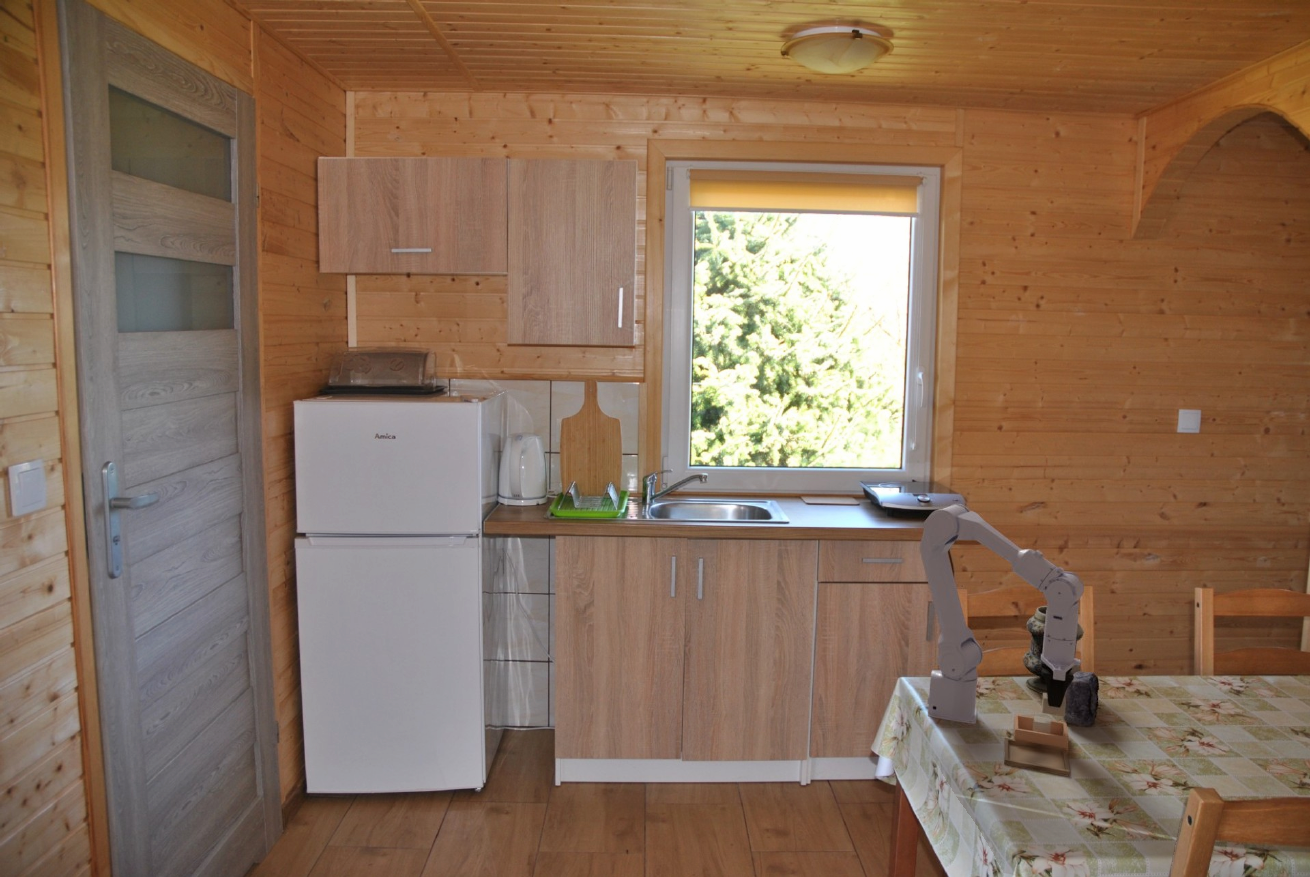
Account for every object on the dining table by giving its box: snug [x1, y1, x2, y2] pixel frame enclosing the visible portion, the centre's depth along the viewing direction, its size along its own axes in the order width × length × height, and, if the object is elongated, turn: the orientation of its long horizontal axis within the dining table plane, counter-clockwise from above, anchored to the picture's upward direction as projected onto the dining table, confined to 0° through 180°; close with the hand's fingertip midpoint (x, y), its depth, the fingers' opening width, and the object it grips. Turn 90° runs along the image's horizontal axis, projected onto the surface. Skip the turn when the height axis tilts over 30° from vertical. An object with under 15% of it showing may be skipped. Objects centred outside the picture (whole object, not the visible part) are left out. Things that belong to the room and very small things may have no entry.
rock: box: [1062, 670, 1100, 727], centre depth 190 cm, size 10×6×10 cm, turn 142°
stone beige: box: [1041, 693, 1066, 718], centre depth 179 cm, size 4×3×3 cm
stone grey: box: [1033, 715, 1051, 734], centre depth 181 cm, size 4×3×3 cm
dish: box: [1013, 713, 1070, 753], centre depth 181 cm, size 10×8×3 cm
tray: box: [1004, 737, 1070, 777], centre depth 173 cm, size 11×10×1 cm
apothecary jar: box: [1022, 605, 1085, 694], centre depth 208 cm, size 12×12×18 cm
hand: (1054, 702), depth 179 cm, fingers closed on stone beige, 3 cm apart
